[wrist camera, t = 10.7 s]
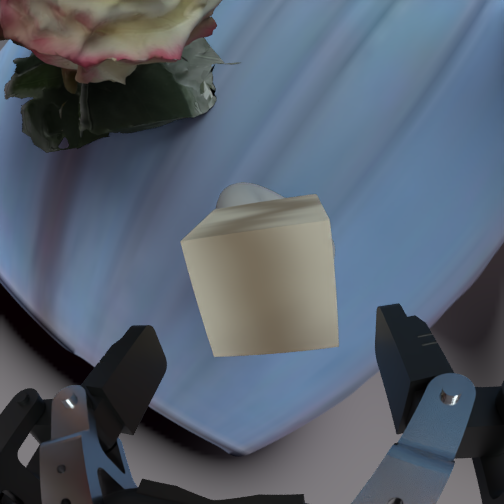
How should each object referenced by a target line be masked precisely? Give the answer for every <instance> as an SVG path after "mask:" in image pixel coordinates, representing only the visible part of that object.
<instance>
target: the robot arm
mask: <svg viewBox="0 0 504 504" xmlns="http://www.w3.org/2000/svg"><path fill="white" fill-rule="evenodd" d="M375 353H376V359H377V363H378V366H379V370H380V373H381V377H382V380H383V383H384V387H385V391H386V394H387V398H388V402H389V406H390V409H391V413H392V417H393V421H394V425H395V429H396V434H401V433H403V435H402V436H401V438H400V440H399V441H398V443H395V444H394V445H393V446H392V447H391V449H390V450H389V452H388V453H387V454H386V456H385V458H384V459H383V460H382V462H381V464H380V465H379V467H378V468H377V469H376V471H375V472H374V474H373V475H372V477H371V478H370V479H369V481H368V482H367V483H366V485H365V486H364V487H363V489H362V490H361V492H360V493H359V494H358V495H357V497H356V498H355V499H354V501H353V502H352V503H351V504H436V502H437V500H438V499H439V497H440V495H441V493H442V491H443V489H444V487H445V485H446V483H447V481H448V478H449V476H450V474H451V472H452V469H453V467H454V463H455V461H454V458H472V460H473V464H474V468H475V472H476V476H477V480H478V484H479V489H480V494H481V499H482V504H504V381H503V383H502V386H500V387H474V385H473V383H472V382H471V381H470V380H469V379H468V378H466V377H465V376H462V375H460V374H455V373H454V372H453V370H452V368H451V366H450V364H449V363H448V361H447V359H446V357H445V355H444V353H443V352H442V350H441V348H440V347H439V345H438V343H436V340H435V338H434V336H433V335H432V333H431V331H430V329H429V328H428V326H427V324H426V323H425V322H424V321H422V320H421V319H419V318H418V317H416V316H409V317H407V316H406V314H405V312H404V310H403V309H402V307H401V305H400V304H399V303H398V304H392V305H385V306H379V307H378V308H377V314H376V336H375ZM166 368H167V361H166V357H165V355H164V352H163V350H162V347H161V345H160V342H159V340H158V337H157V335H156V332H155V330H154V328H153V327H152V326H150V325H139V326H131V327H130V328H129V330H128V331H127V332H126V333H125V335H124V336H123V337H122V338H121V339H120V340H119V341H117V342H116V343H115V344H113V345H112V346H111V347H110V349H109V350H108V351H107V352H106V354H105V356H103V357H102V359H101V360H100V363H98V364H97V365H96V366H95V368H94V369H93V370H92V372H91V373H90V374H89V375H88V377H87V378H86V380H85V381H84V382H83V383H82V385H81V386H79V385H72V386H68V387H65V388H63V389H62V390H60V391H59V392H58V393H57V394H56V395H55V397H54V398H53V399H46V400H42V398H41V397H40V396H39V394H38V393H37V391H36V390H35V389H31V388H29V389H25V390H23V391H20V392H19V393H18V394H17V395H15V397H14V398H13V399H12V400H11V401H10V403H9V404H8V405H7V406H6V408H5V409H4V410H3V412H2V413H1V414H0V504H307V503H305V501H304V494H299V495H298V494H296V495H254V496H248V497H241V498H234V499H226V500H210V499H207V498H205V497H202V496H199V495H197V494H194V493H192V492H189V491H187V490H185V489H182V488H180V487H178V486H174V485H169V484H164V483H159V482H154V481H150V480H145V479H142V480H141V483H140V485H139V487H137V486H136V485H135V483H134V481H133V479H132V476H131V473H130V469H129V466H128V463H127V460H126V457H125V453H124V449H123V446H122V442H121V440H120V439H119V438H118V436H119V434H120V433H126V434H130V435H134V433H135V431H136V429H137V427H138V425H139V423H140V421H141V419H142V417H143V415H144V413H145V411H146V409H147V407H148V405H149V403H150V401H151V399H152V398H153V396H154V394H155V392H156V390H157V388H158V386H159V384H160V382H161V380H162V378H163V376H164V374H165V372H166ZM29 433H31V434H32V436H33V437H34V438H35V439H36V440H37V441H38V442H39V444H40V445H39V447H38V449H37V450H36V452H35V453H34V455H33V457H32V458H31V460H30V462H29V463H28V465H27V467H25V466H23V465H22V464H21V463H20V461H19V460H18V456H17V453H18V450H19V448H20V446H21V445H22V443H23V442H24V440H25V439H26V437H27V436H28V434H29Z"/></svg>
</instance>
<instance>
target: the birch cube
mask: <svg viewBox="0 0 504 504" xmlns="http://www.w3.org/2000/svg"><path fill="white" fill-rule="evenodd" d="M180 242H181V246H182V250H183V253H184V257H185V261H186V265H187V268H188V272H189V275H190V279H191V283H192V286H193V290H194V293H195V297H196V300H197V303H198V307H199V310H200V313H201V317H202V320H203V323H204V326H205V330H206V333H207V336H208V339H209V342H210V345H211V349H212V352H213V355H214V357H224V356H245V355H261V354H274V353H286V352H296V351H306V350H315V349H324V348H331V347H339V340H338V316H337V298H336V283H335V270H334V258H333V247H332V237H331V227H330V220H329V218H328V216H327V214H326V212H325V210H324V208H323V206H322V204H321V202H320V200H319V198H318V196H317V195H316V194H312V195H305V196H297V197H290V198H283V199H276V200H270V201H263V202H257V203H250V204H244V205H238V206H232V207H226V208H220V209H215V210H213V211H212V212H211V213H210V214H209V215H208V216H207V217H206V218H205V219H204V220H203V221H202V222H200V223H199V224H198V225H197V226H196V227H195V228H194V229H193V230H192V231H191V232H190V233H189V234H188V235H187V236H186V237H185V238H183V239H182V240H181V241H180Z"/></svg>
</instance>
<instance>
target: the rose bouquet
mask: <svg viewBox="0 0 504 504" xmlns="http://www.w3.org/2000/svg"><path fill="white" fill-rule="evenodd" d="M221 1H222V0H0V40H9V39H11V40H12V41H13V43H14V44H17V45H20V46H22V47H25V48H27V49H29V50H31V51H32V53H31V56H30V57H26V58H16V59H14V60H13V62H14V63H15V64H16V66H17V67H16V69H15V70H16V71H14V72H15V73H14V75H13V76H12V77H11V80H10V81H9V82H8V83H7V84H6V85H5V89H4V91H5V93H4V94H5V99H8V98H10V97H14V96H15V97H18V98H21V99H23V98H26V97H33V99H32V100H30V101H28V102H26V103H25V104H24V105H21V106H22V107H21V114H22V121H23V123H22V127H23V128H22V132H23V133H25V134H26V135H28V136H29V137H31V139H32V141H33V143H34V145H36V146H37V147H39V148H41V149H42V150H43V151H45V152H46V153H48V152H54V151H59V150H66V149H73V148H77V149H78V148H81V147H82V146H84V145H86V144H88V143H91V142H93V141H95V140H98V139H100V138H103V137H110V136H108V135H109V133H112V132H113V133H118V132H120V133H133V132H137V131H142V130H146V129H151V128H156V127H159V126H162V125H165V124H168V123H170V122H173V121H175V120H179V119H182V118H190V117H192V118H194V117H197V116H199V115H201V114H204V113H206V112H207V111H208V110H209V109H210V108H212V107H213V105H214V103H215V102H216V99H217V98H216V96H215V94H214V93H215V90H216V88H215V86H214V84H213V75H212V71H213V69H214V66H215V65H214V66H213V67H211V65H212V64H215V63H217V64H225V63H224V62H223V61H222V60H221V58H220V57H219V56H218V55H217V54H216V53H215V51H214V50H213V49H212V48H211V47H210V45H209V44H208V43H207V41H206V40H205V38H204V37H208V36H210V35H212V33H213V30H214V29H216V27H217V24H216V22H215V20H214V19H213V18H212V17H209V16H211V15H212V14H213V11H214V9H215V8H216V7H217V6H218V5H219V3H220V2H221ZM240 63H242V62H240ZM227 64H237V63H227ZM64 137H65V138H66V139H67V140H68V143H69V147H68V148H65V149H60V148H58V146H59V144H60V143H61V141H62V140H63V138H64Z"/></svg>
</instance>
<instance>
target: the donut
mask: <svg viewBox="0 0 504 504" xmlns="http://www.w3.org/2000/svg"><path fill="white" fill-rule="evenodd" d="M283 198H284V197H283V196H281V195H279V194H277V193H275V192H273V191H271V190H269V189H267V188H265V187H262V186H259V185H256V184H252V183H245V182H241V183H236V184H233V185H230V186H228V187H227V188H225V189H224V190H223V191H222V193H221V194H220V196H219V199H218V202H217V205H216V209H220V208H226V207H232V206H238V205H244V204H250V203H257V202H263V201H270V200H276V199H283ZM332 247H333V258H334V257H335V246H334V242H333V240H332Z"/></svg>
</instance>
